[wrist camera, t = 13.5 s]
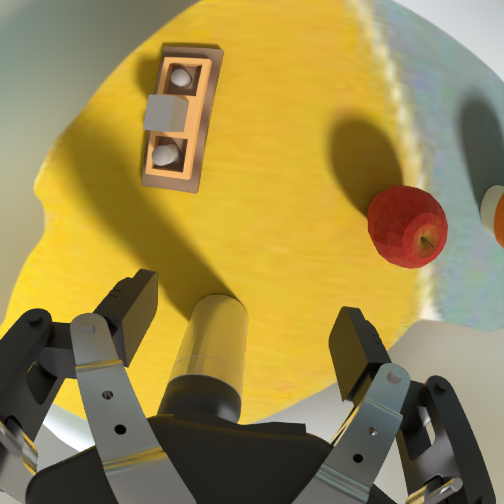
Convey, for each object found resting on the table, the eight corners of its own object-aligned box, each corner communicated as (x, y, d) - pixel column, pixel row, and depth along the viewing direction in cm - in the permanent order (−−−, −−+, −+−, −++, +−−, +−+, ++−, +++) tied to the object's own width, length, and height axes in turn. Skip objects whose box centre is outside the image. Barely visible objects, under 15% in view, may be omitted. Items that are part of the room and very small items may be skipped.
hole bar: (190, 178, 36) (174, 188, 29) (149, 172, 36) (125, 181, 29) (212, 62, 30) (199, 45, 23) (168, 59, 29) (147, 44, 22)
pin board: (198, 191, 38) (187, 201, 33) (145, 183, 38) (127, 192, 32) (224, 52, 30) (217, 38, 25) (167, 49, 30) (152, 37, 24)
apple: (414, 176, 36) (471, 198, 23) (412, 239, 39) (460, 280, 27) (352, 179, 36) (394, 202, 24) (354, 245, 40) (389, 294, 28)
